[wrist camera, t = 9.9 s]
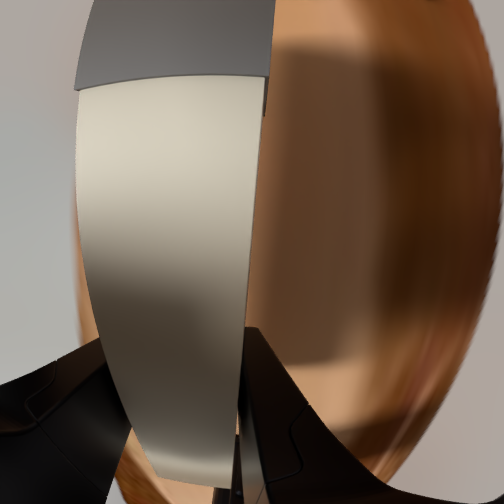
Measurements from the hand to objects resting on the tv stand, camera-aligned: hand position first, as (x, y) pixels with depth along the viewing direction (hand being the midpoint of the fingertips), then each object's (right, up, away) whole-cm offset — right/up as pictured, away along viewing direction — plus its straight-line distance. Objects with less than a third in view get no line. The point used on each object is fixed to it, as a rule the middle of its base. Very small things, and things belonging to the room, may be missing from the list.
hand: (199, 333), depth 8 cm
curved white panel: (0, +2, 0) cm, 2 cm away
